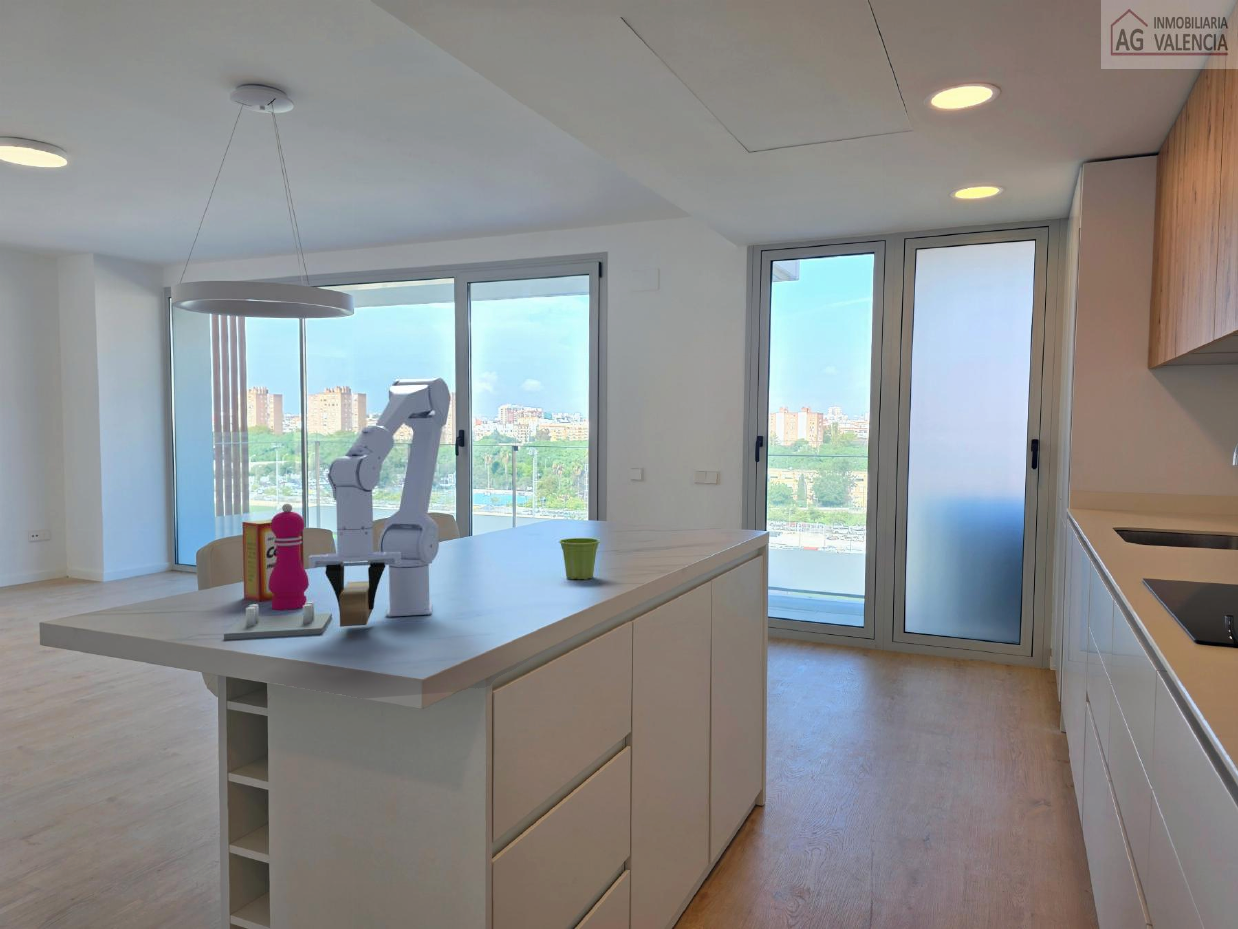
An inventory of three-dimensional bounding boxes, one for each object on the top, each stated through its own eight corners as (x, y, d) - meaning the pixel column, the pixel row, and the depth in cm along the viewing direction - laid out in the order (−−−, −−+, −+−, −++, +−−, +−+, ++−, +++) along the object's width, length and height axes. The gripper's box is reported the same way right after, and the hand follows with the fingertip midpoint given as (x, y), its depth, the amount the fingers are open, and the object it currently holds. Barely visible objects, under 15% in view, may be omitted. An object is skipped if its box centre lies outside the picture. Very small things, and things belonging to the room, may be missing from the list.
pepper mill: (262, 607, 154) (260, 503, 153) (298, 601, 159) (296, 501, 158) (278, 612, 149) (276, 505, 148) (315, 606, 154) (313, 503, 153)
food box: (259, 601, 159) (257, 522, 158) (244, 598, 163) (242, 520, 162) (304, 594, 166) (302, 518, 166) (288, 591, 170) (286, 516, 170)
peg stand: (242, 623, 140) (241, 600, 140) (331, 618, 143) (331, 596, 143) (224, 639, 128) (223, 615, 128) (322, 634, 132) (321, 610, 131)
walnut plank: (348, 610, 138) (347, 582, 138) (372, 609, 139) (372, 581, 139) (339, 626, 126) (339, 595, 126) (366, 625, 127) (365, 594, 127)
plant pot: (608, 578, 182) (607, 540, 182) (572, 583, 177) (572, 544, 177) (586, 573, 190) (586, 537, 190) (552, 577, 185) (551, 540, 184)
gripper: (304, 532, 127) (306, 616, 127) (399, 529, 130) (400, 611, 130) (311, 527, 134) (313, 607, 134) (401, 524, 137) (402, 603, 137)
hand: (356, 609), depth 133 cm, fingers closed on walnut plank, 4 cm apart
